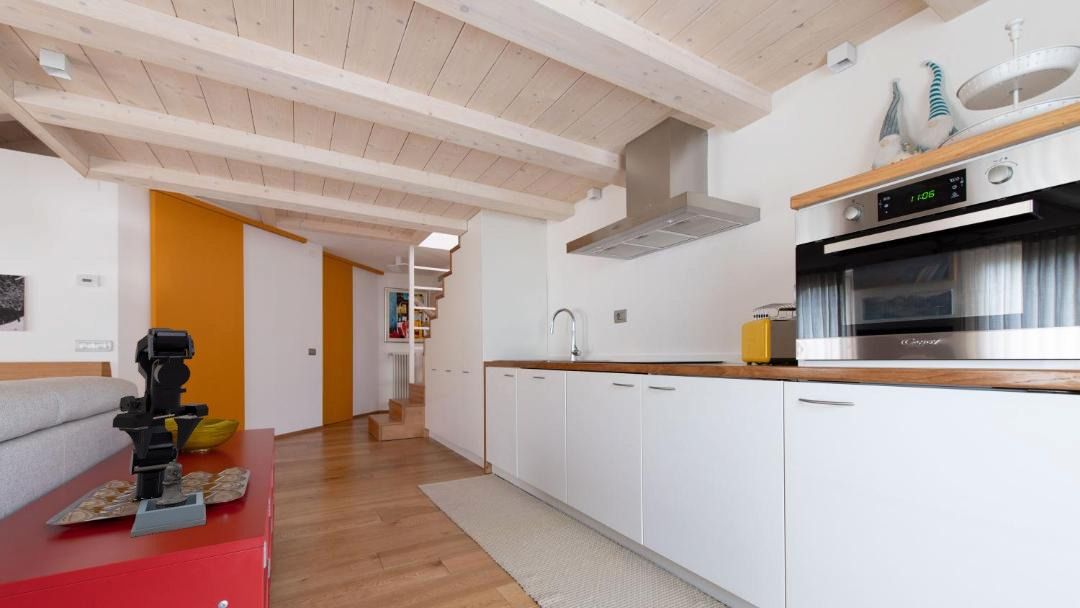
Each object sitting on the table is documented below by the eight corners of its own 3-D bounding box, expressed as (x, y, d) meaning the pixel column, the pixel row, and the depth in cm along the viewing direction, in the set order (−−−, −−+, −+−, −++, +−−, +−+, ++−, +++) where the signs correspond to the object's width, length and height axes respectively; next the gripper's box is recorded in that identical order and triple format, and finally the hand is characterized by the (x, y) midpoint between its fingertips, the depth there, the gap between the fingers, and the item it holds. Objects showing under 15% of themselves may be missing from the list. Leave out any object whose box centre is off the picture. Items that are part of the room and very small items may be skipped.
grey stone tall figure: (151, 524, 97) (156, 463, 99) (153, 515, 102) (157, 458, 103) (187, 518, 101) (191, 459, 102) (187, 510, 106) (191, 454, 107)
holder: (136, 519, 103) (138, 500, 103) (204, 508, 110) (206, 490, 110) (130, 537, 93) (132, 516, 94) (205, 524, 100) (206, 504, 100)
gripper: (173, 379, 121) (169, 442, 120) (93, 387, 103) (87, 461, 101) (212, 381, 119) (208, 445, 118) (138, 388, 101) (132, 464, 100)
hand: (161, 453), depth 109 cm, fingers open, 9 cm apart
